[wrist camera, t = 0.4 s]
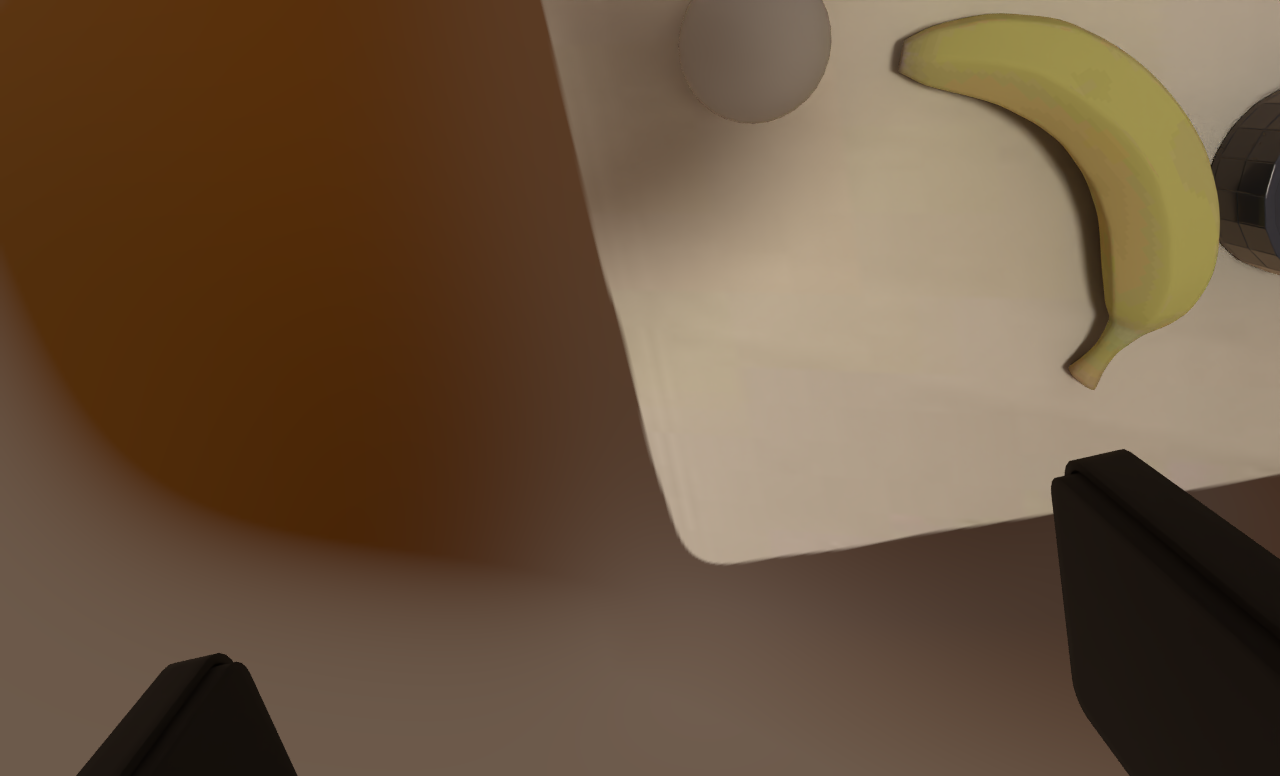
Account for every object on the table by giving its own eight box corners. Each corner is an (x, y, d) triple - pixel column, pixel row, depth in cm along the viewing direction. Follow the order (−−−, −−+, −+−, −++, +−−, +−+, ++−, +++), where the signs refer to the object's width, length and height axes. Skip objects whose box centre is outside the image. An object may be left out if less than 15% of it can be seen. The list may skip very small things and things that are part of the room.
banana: (1248, -32, 35) (1220, 402, 44) (1204, -40, 40) (1186, 353, 48) (896, 42, 39) (933, 425, 48) (893, 27, 44) (928, 378, 53)
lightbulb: (752, -44, 42) (791, -88, 31) (819, 69, 43) (877, 62, 33) (647, 35, 43) (650, 18, 32) (715, 142, 44) (739, 158, 34)
